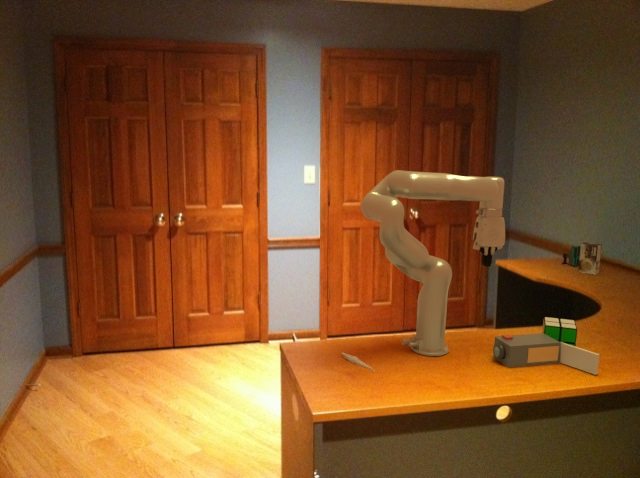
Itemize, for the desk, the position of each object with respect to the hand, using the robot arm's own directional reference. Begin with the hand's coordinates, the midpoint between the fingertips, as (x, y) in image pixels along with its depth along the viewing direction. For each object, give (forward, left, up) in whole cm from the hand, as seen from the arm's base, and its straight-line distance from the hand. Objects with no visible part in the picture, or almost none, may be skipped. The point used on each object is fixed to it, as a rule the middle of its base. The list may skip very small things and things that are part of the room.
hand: (486, 265), depth 198 cm
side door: (+17, -29, -27) cm, 43 cm away
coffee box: (+114, +85, -27) cm, 145 cm away
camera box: (+5, -19, -27) cm, 34 cm away
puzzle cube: (+21, -14, -27) cm, 37 cm away
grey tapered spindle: (-49, -12, -28) cm, 58 cm away
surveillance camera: (+117, +104, -27) cm, 159 cm away
